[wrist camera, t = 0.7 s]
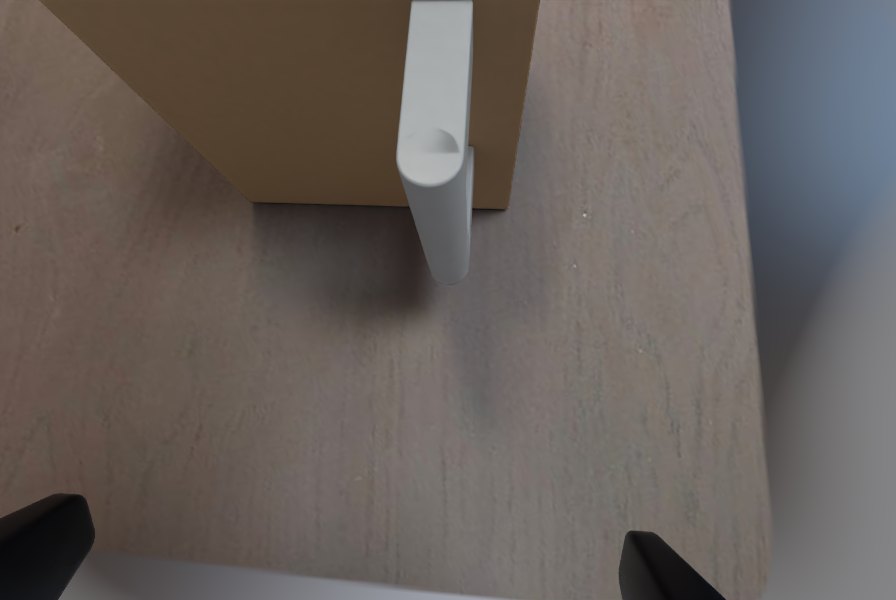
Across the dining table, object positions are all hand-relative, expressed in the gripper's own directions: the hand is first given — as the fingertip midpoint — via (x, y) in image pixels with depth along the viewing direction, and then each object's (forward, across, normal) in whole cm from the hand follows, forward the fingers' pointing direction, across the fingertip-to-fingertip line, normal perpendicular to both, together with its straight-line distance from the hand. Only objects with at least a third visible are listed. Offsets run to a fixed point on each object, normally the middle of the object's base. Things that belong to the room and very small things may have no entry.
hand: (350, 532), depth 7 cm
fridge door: (+17, +3, -1) cm, 17 cm away
